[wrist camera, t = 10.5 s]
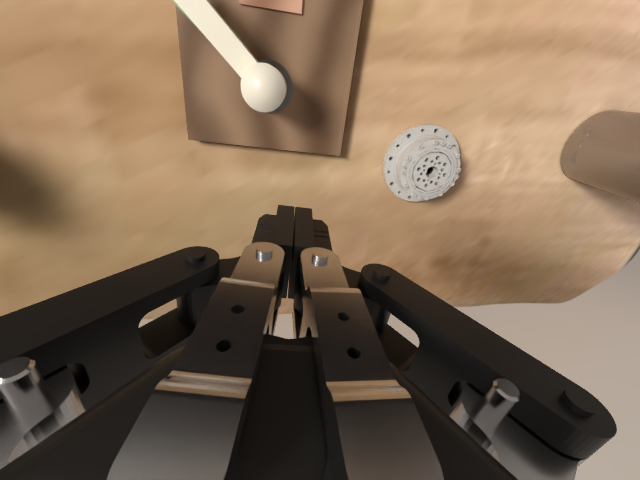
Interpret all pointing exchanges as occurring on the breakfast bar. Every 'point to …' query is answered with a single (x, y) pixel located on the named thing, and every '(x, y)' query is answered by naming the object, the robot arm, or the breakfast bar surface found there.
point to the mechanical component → (422, 163)
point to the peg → (238, 57)
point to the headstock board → (286, 56)
